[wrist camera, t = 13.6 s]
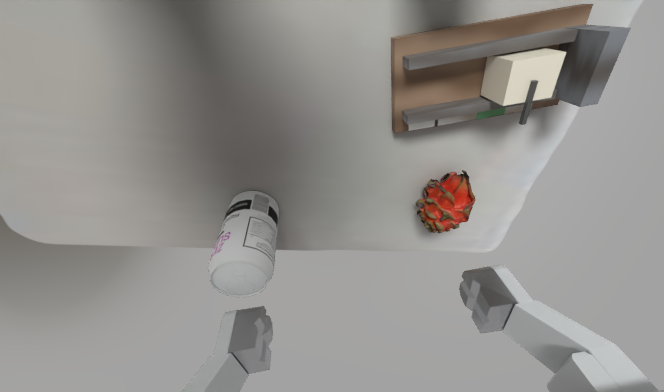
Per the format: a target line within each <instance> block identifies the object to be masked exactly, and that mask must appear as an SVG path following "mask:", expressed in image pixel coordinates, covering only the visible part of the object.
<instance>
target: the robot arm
mask: <svg viewBox="0 0 664 392" xmlns="http://www.w3.org/2000/svg"><path fill="white" fill-rule="evenodd" d="M462 278H463V279H464V281H462V282H461V283H460V288H459V290H460V295H461V298H462V300H463V302H464V304H465V306H466V307H467V308H469V309H470V310H472V319H473V321H474V322H475V324H476V326H477V328H478V329H479V331H480V333H487V332H494V331H501V330H503V332H504V333H505V334H506V335H508V336H509V337H510V338H511V339H513V340H514V341H515V342H516V343H518V344H519V345H520V346H521V347H523V348H524V349H525V350H526V351H528V352H529V353H530V354H531V355H533V356H534V357H535V358H536V359H538V360H539V361H540V362H541V363H543V364H544V365H545V366H546V367H548V368H549V369H550V370H551V371H553V372H554V373H555V375H554V376H553V377H552V378H551V380H550V381H549V382H548V384H547V388H548V390H549V391H550V392H664V390H661V391H658V389H657V388H656V387H655V386H654V385H653V384H652V383H651V382H650V381H649V380H648V379H647V378H646V377H645V375H644V374H643V373H642V372H641V371H640V370H639V369H638V368H637V367H636V366H635V365H634V364H633V363H632V362H631V360H629V358H628V357H627V356H626V355H625V354H624V353H623V352H622V351H621V350H620V349H619V348H618V347H617V346H616V345H615V344H613V343H611V342H610V341H608V340H606V339H604V338H603V337H601V336H599V335H597V334H596V333H594V332H592V331H590V330H589V329H587V328H585V327H583V326H581V325H580V324H578V323H576V322H574V321H573V320H571V319H569V318H567V317H566V316H564V315H562V314H560V313H559V312H557V311H555V310H553V309H552V308H550V307H548V306H546V305H544V304H543V303H541V302H539V301H538V300H536V301H533V300H532V299H531V297H530V296H529V295H528V294H527V293H526V291H525V290H524V289H523V287H522V286H521V285H520V284H519V282H518V281H517V280H516V279H515V277H514V276H513V275H512V274H511V272H510V271H509V270H508V269H507V267H505V266H504V265H496V266H490V267H484V268H478V269H473V270H468V271H464V272H463V275H462ZM272 335H273V329H272V322H271V319H270V317H269V316H267V315H266V309H265V307H264V306H260V307H254V308H249V309H242V310H235V311H230V312H225V314H224V316H223V318H222V322H221V326H220V330H219V334H218V338H217V342H216V346H215V350H214V354H213V356H210V357H209V358H208V359H207V360H206V361H205V363H204V364H203V365H202V367H201V368H200V369H199V370H198V372H197V373H196V374H195V375H194V377H193V378H192V379H191V381H190V382H189V383H188V384H187V386H186V387H185V388H184V390H183V391H182V392H240V390H241V388H242V386H243V385H244V383H245V381H246V379H247V377H248V374H250V373H256V372H261V371H266V370H269V369H270V361H271V350H270V348H269V347H268V345H269V344H270V342H271V341H272Z"/></svg>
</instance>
